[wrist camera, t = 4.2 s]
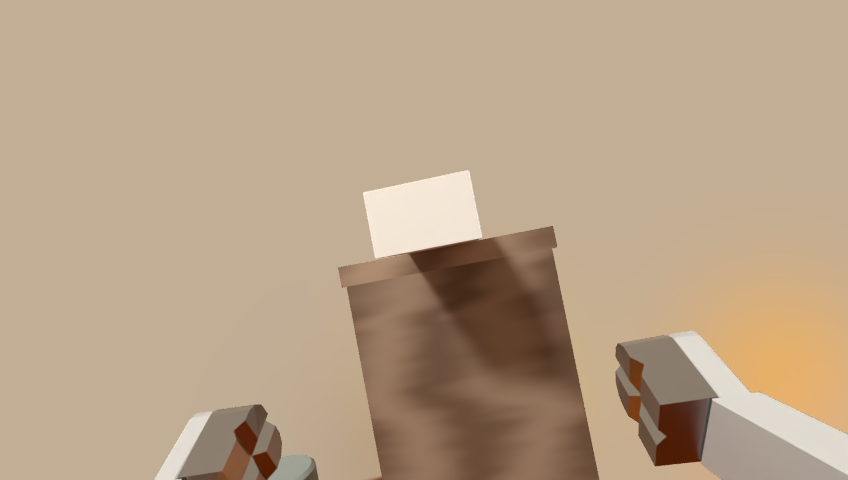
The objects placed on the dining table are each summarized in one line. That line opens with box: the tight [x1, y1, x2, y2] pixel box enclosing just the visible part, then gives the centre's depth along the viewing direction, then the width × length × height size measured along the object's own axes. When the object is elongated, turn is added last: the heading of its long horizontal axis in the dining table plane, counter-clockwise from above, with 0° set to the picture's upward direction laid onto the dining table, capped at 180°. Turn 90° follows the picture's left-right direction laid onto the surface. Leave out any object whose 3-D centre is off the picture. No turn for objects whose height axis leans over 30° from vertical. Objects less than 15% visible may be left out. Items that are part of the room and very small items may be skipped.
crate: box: [338, 226, 599, 480], centre depth 30 cm, size 13×14×26 cm
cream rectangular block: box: [363, 170, 482, 258], centre depth 26 cm, size 4×22×6 cm, turn 173°
